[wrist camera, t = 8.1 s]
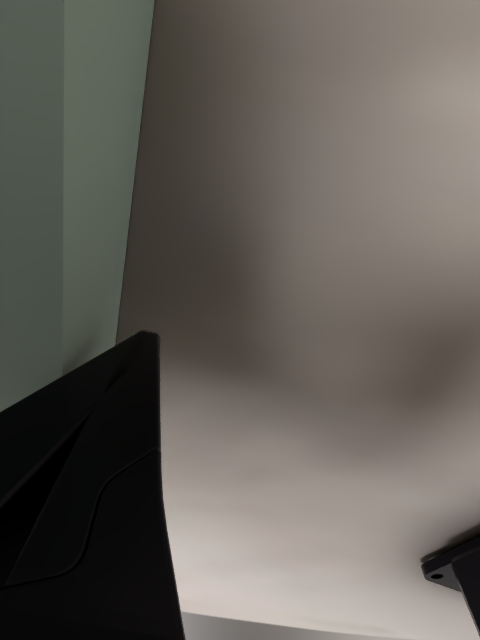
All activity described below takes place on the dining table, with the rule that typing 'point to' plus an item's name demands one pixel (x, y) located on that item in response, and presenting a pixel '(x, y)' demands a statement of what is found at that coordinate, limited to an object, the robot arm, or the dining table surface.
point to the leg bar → (65, 179)
